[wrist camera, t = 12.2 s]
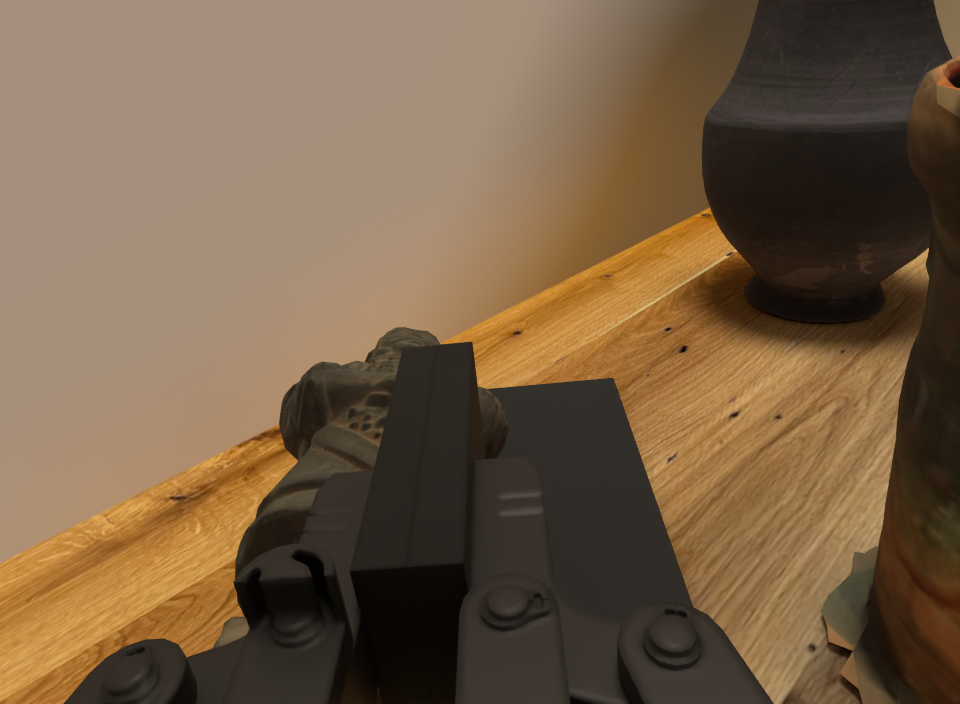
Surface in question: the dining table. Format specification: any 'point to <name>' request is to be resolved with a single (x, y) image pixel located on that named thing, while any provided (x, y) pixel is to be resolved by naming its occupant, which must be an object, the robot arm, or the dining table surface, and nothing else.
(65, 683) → the dining table surface
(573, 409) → the mat
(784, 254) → the pitcher
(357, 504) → the robot arm
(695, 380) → the dining table surface
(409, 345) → the statue
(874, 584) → the vessel
